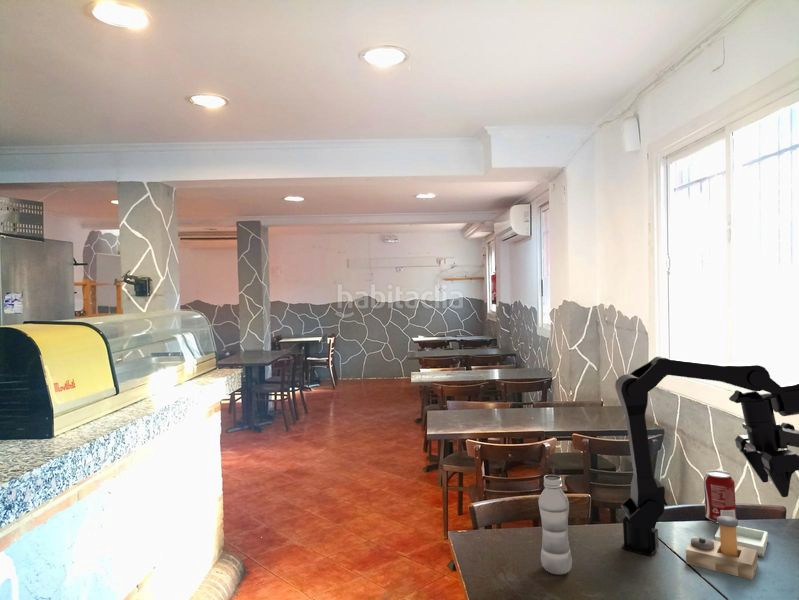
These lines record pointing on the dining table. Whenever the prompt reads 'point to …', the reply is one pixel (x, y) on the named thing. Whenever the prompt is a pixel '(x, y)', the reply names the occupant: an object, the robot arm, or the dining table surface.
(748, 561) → the block
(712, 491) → the soda can
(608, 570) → the dining table surface
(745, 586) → the dining table surface
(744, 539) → the tray
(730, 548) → the pin
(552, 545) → the plastic bottle
